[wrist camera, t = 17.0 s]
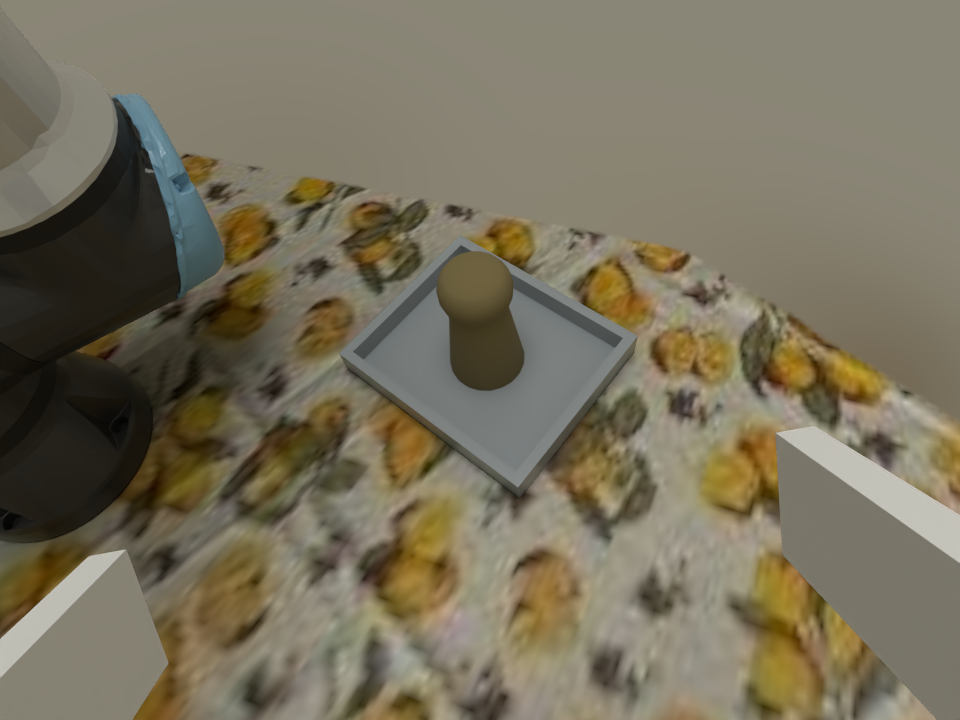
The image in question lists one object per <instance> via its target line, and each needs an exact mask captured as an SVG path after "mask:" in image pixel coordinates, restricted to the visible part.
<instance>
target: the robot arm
mask: <svg viewBox="0 0 960 720" xmlns="http://www.w3.org/2000/svg"><path fill="white" fill-rule="evenodd" d="M223 261H224V248H223V245H222V242H221V240H220V237H219V235H218V232H217V230H216V228H215V226H214V224H213V222H212V220H211V218H210V216H209V213H208V211H207V209H206V207H205V205H204V203H203V201H202V200H201V198H200V196H199V194H198V192H197V190H196V188H195V187H194V185H193V183H192V182H191V181H190V179H189V175H188V173H187V172H186V170H185V168H184V166H183V164H182V161H181V159H180V157H179V155H178V154H177V152H176V150H175V148H174V146H173V144H172V143H171V141H170V139H169V137H168V135H167V134H166V132H165V130H164V128H163V127H162V125H161V123H160V121H159V120H158V118H157V116H156V115H155V113H154V111H153V110H152V109H151V107H150V105H149V104H148V102H147V101H146V100H145V99H144V98H143V97H142V96H140V95H138V94H127V95H121V94H116V95H115V96H114V97H112V98H111V96H110V95H109V94H108V93H107V91H106V90H105V89H104V87H103V86H102V85H101V84H100V83H99V82H97V80H95V79H94V78H93V77H92V76H90V74H88V73H87V72H85V71H83V70H81V69H79V68H77V67H74V66H72V65H69V64H66V63H62V62H58V61H52V60H46V59H42V57H41V56H40V55H39V54H38V53H37V51H36V50H35V49H34V48H33V46H32V45H31V44H30V43H29V41H28V40H27V39H26V38H25V37H24V35H23V34H22V33H21V32H20V30H19V29H18V28H17V27H16V25H15V24H14V23H13V22H12V21H11V19H10V18H9V17H8V16H7V14H6V13H5V12H4V11H3V9H2V8H1V7H0V539H1V540H5V541H9V542H18V543H27V542H37V541H42V540H47V539H50V538H54V537H56V536H59V535H62V534H64V533H67V532H69V531H71V530H73V529H75V528H77V527H79V526H80V525H82V524H84V523H85V522H87V521H89V520H90V519H92V518H93V517H94V516H96V515H97V514H98V513H100V512H101V511H102V510H103V509H104V508H106V507H107V506H108V505H109V504H110V503H111V502H112V501H113V500H114V499H115V498H116V497H117V496H118V495H119V494H120V493H121V492H122V490H123V489H124V488H125V487H126V486H127V484H128V483H129V482H130V480H131V479H132V477H133V476H134V474H135V473H136V471H137V469H138V467H139V466H140V464H141V462H142V460H143V458H144V455H145V453H146V450H147V447H148V444H149V440H150V436H151V430H152V411H151V406H150V402H149V399H148V397H147V395H146V393H145V391H144V389H143V388H142V387H141V385H140V384H139V383H138V382H137V381H136V380H134V379H133V378H132V377H131V376H129V375H128V374H127V373H125V372H124V371H123V370H122V369H120V368H119V367H118V366H116V365H114V364H112V363H111V362H109V361H106V360H104V359H101V358H98V357H95V356H91V355H88V354H84V353H81V352H77V351H76V350H78V349H80V348H82V347H84V346H85V345H87V344H89V343H91V342H93V341H95V340H97V339H99V338H101V337H103V336H105V335H107V334H109V333H111V332H113V331H115V330H117V329H119V328H121V327H123V326H125V325H127V324H129V323H131V322H133V321H135V320H137V319H139V318H141V317H142V316H144V315H146V314H148V313H150V312H152V311H154V310H156V309H158V308H160V307H162V306H164V305H166V304H168V303H170V302H172V301H174V300H176V299H180V298H182V297H183V296H184V295H185V294H186V293H187V291H189V290H190V289H192V288H194V287H195V286H197V285H199V284H200V283H202V282H203V281H205V280H207V279H208V278H210V277H212V276H213V275H215V274H216V273H217V272H218V271H219V270H220V268H221V267H222V264H223ZM776 449H777V467H778V484H779V502H780V519H781V536H782V554H783V556H784V557H785V558H786V559H787V560H788V561H789V562H790V563H791V564H792V565H793V566H794V567H795V568H796V569H797V571H798V572H799V573H800V574H801V575H802V576H803V577H804V578H805V579H806V580H807V581H808V582H809V583H810V584H811V586H812V587H813V588H814V589H815V590H816V591H817V592H818V593H819V594H820V595H821V596H822V597H823V598H824V599H825V600H826V602H827V603H828V604H829V605H830V606H831V607H832V608H833V609H834V610H835V611H836V612H837V613H838V614H839V615H840V617H841V618H842V619H843V620H844V621H845V622H846V623H847V624H848V625H849V626H850V627H851V628H852V629H853V630H854V631H855V633H856V634H857V635H858V636H859V637H860V638H861V639H862V640H863V641H864V642H865V643H866V644H867V645H868V646H869V647H870V649H871V650H872V651H873V652H874V653H875V654H876V655H877V656H878V657H879V658H880V659H881V660H882V661H883V662H884V664H885V665H886V666H887V667H888V668H889V669H890V670H891V671H892V672H893V673H894V674H895V675H896V676H897V677H898V678H899V680H900V681H901V682H902V683H903V684H904V685H905V686H906V687H907V688H908V689H909V690H910V691H911V692H912V693H913V695H914V696H915V697H916V698H917V699H918V700H919V701H920V702H921V703H922V704H923V705H924V706H925V707H926V708H927V709H928V711H929V712H930V713H931V714H932V715H933V716H934V717H935V718H936V719H937V720H960V515H959V514H957V513H956V512H954V511H952V510H951V509H949V508H947V507H946V506H944V505H942V504H941V503H939V502H938V501H936V500H934V499H933V498H931V497H929V496H928V495H926V494H924V493H923V492H921V491H920V490H918V489H916V488H915V487H913V486H911V485H910V484H908V483H906V482H905V481H903V480H902V479H900V478H898V477H897V476H895V475H893V474H892V473H890V472H888V471H887V470H885V469H884V468H882V467H880V466H879V465H877V464H875V463H874V462H872V461H870V460H869V459H867V458H865V457H864V456H862V455H861V454H859V453H857V452H856V451H854V450H852V449H851V448H849V447H847V446H846V445H844V444H843V443H841V442H839V441H838V440H836V439H834V438H833V437H831V436H829V435H828V434H826V433H825V432H823V431H821V430H820V429H818V428H816V427H815V426H811V427H806V428H800V429H795V430H789V431H783V432H778V433H776ZM167 665H168V660H167V658H166V655H165V652H164V650H163V647H162V644H161V641H160V639H159V636H158V633H157V631H156V628H155V625H154V623H153V620H152V617H151V614H150V612H149V609H148V606H147V604H146V601H145V598H144V596H143V593H142V590H141V587H140V585H139V582H138V579H137V577H136V574H135V571H134V569H133V566H132V563H131V560H130V558H129V555H128V552H127V550H120V551H114V552H109V553H103V554H98V555H92V556H89V557H87V558H86V559H85V560H84V561H83V562H82V563H81V564H80V565H79V566H78V567H77V568H76V569H75V570H74V571H72V572H71V573H70V574H69V575H68V576H67V577H66V578H65V579H64V580H63V581H62V582H61V583H60V584H59V585H58V586H56V587H55V588H54V589H53V590H52V591H51V592H50V593H49V594H48V595H47V596H46V597H45V598H44V599H43V600H41V601H40V602H39V603H38V604H37V605H36V606H35V607H34V608H33V609H32V610H31V611H30V612H29V613H28V614H26V615H25V616H24V617H23V618H22V619H21V620H20V621H19V622H18V623H17V624H16V625H15V626H14V627H13V628H11V629H10V630H9V631H8V632H7V633H6V634H5V635H4V636H3V637H2V638H1V639H0V720H132V719H133V718H134V716H135V715H136V713H137V712H138V710H139V708H140V707H141V705H142V704H143V702H144V701H145V699H146V698H147V696H148V694H149V693H150V691H151V690H152V688H153V687H154V685H155V684H156V682H157V680H158V679H159V677H160V676H161V674H162V673H163V671H164V670H165V668H166V666H167Z"/></svg>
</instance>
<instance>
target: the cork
mask: <svg viewBox="0 0 960 720" xmlns="http://www.w3.org/2000/svg"><path fill="white" fill-rule="evenodd" d="M436 292H437V296H438V300H439V304H440V306H441V307H442V309H443V310H444V312H445V313H446V314H447V316H448V317H449V337H450V363H451V367H452V371H453V373H454V374H455V376H456V377H457V379H458V380H459V381H460V382H461V383H463V384H464V385H466V386H467V387H469V388H472V389H476V390H479V391H492V390H495V389H499V388H503V387H504V386H506V385H508V384H509V383H511V382H512V381H513V380H514V379H515V378H516V377H517V376H518V375H519V374H520V372H521V369H522V367H523V365H524V354H525V353H524V350H523V347H522V344H521V341H520V338H519V335H518V332H517V329H516V326H515V323H514V320H513V317H512V314H511V311H510V308H509V305H510V303H511V301H512V298H513V280H512V277H511V274H510V271H509V269H508V268H507V266H506V265H505V264H504V263H503V262H502V260H500V259H498V258H497V257H495V256H493V255H492V254H490V253H486V252H482V251H470V252H466V253H462V254H459V255H457V256H456V257H454V258H452V259H451V260H450V261H449V262H448V263H447V264H446V265H445V266H444V267H443V269H442V270H441V272H440V274H439V276H438V281H437V288H436Z"/></svg>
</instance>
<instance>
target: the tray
mask: <svg viewBox="0 0 960 720" xmlns="http://www.w3.org/2000/svg"><path fill="white" fill-rule="evenodd" d="M470 251H482V252H486V253H490V254H492V253H491V252H489V251H487V250H485V249H483V248H482V247H480V246H478V245H476V244H475V243H473V242H471V241H469V240H468V239H466V238H464V237H462V236H461V235H460V236H459V237H458V238H457V239H456V240H455V241H454V242H453V243H451V244H450V245H449V246H448V247H447V248H446V249H445V250H444V251H443V252H442V253H441V254H440V255H439V256H438V257H437V258H436V259H435V260H434V261H433V262H432V263H431V264H430V265H429V266H428V267H427V268H426V269H425V270H424V271H423V272H422V273H421V274H420V275H419V276H418V277H417V278H416V279H415V280H414V281H413V282H412V283H411V284H410V285H409V286H408V287H407V288H406V289H405V290H403V291H402V292H401V293H400V294H399V295H398V296H397V297H396V298H395V299H394V300H393V301H392V302H391V303H390V304H389V305H388V306H387V307H386V308H385V309H384V310H383V311H382V312H381V313H380V314H379V315H378V316H377V317H376V318H375V319H374V320H373V321H372V322H371V323H370V324H369V325H368V326H367V327H366V328H365V329H364V330H363V331H362V332H361V333H360V334H359V335H358V336H357V337H355V338H354V339H353V340H352V341H351V342H350V343H349V344H348V345H347V346H346V347H345V348H344V349H343V350H342V351H341V352H340V353H339V354H340V356H341V358H342V359H343V361H344V363H345V364H346V366H347V368H348V369H349V370H350V371H352V372H353V373H354V374H356V375H357V376H358V377H360V378H361V379H362V380H363V381H365V382H366V383H367V384H369V385H370V386H371V387H373V388H374V389H375V390H377V391H378V392H379V393H381V394H382V395H383V396H385V397H386V398H387V399H389V400H390V401H391V402H393V403H394V404H395V405H397V406H398V407H399V408H401V409H402V410H403V411H404V412H406V413H407V414H408V415H410V416H411V417H412V418H414V419H415V420H416V421H418V422H419V423H420V424H422V425H423V426H424V427H426V428H427V429H428V430H430V431H431V432H432V433H434V434H435V435H436V436H438V437H439V438H440V439H442V440H443V441H444V442H446V443H447V444H448V445H449V446H451V447H452V448H453V449H455V450H456V451H457V452H459V453H460V454H461V455H463V456H464V457H465V458H467V459H468V460H469V461H471V462H472V463H473V464H475V465H476V466H477V467H479V468H480V469H481V470H483V471H484V472H485V473H487V474H488V475H489V476H490V477H492V478H493V479H494V480H496V481H497V482H498V483H500V484H501V485H502V486H504V487H505V488H506V489H508V490H509V491H510V492H512V493H513V494H514V495H516V496H517V497H518V498H520V497H521V496H522V495H523V494H524V492H525V491H526V490H527V488H528V487H529V486H530V485H531V483H532V482H533V481H534V479H535V478H536V477H537V476H538V474H539V473H540V472H541V471H542V469H543V468H544V467H545V465H546V464H547V463H548V462H549V460H550V459H551V458H552V457H553V455H554V454H555V453H556V451H557V450H558V449H559V448H560V446H561V445H562V444H563V443H564V441H565V440H566V439H567V437H568V436H569V435H570V434H571V432H572V431H573V430H574V428H575V427H576V426H577V425H578V423H579V422H580V421H581V420H582V418H583V417H584V416H585V414H586V413H587V412H588V411H589V409H590V408H591V407H592V406H593V404H594V403H595V402H596V400H597V399H598V398H599V397H600V395H601V394H602V393H603V392H604V390H605V389H606V388H607V386H608V385H609V384H610V383H611V381H612V380H613V379H614V378H615V376H616V375H617V374H618V372H619V371H620V370H621V369H622V367H623V366H624V365H625V363H626V362H627V361H628V360H629V358H630V357H631V356H632V355H633V353H634V350H635V346H636V342H637V338H638V336H637V335H635V334H633V333H632V332H630V331H628V330H626V329H624V328H623V327H621V326H619V325H617V324H616V323H614V322H612V321H610V320H609V319H607V318H605V317H603V316H602V315H600V314H598V313H596V312H595V311H593V310H591V309H589V308H587V307H586V306H584V305H582V304H580V303H579V302H577V301H575V300H573V299H572V298H570V297H568V296H566V295H565V294H563V293H561V292H559V291H557V290H556V289H554V288H552V287H550V286H549V285H547V284H545V283H543V282H542V281H540V280H538V279H536V278H535V277H533V276H531V275H529V274H528V273H526V272H524V271H522V270H520V269H519V268H517V267H515V266H513V265H512V264H510V263H508V262H506V261H505V260H503V259H501V258H499V257H498V256H496V255H494V254H492V255H493V256H495V257H497V258H498V259H500V260H502V262H503V263H504V264H505V265H506V266H507V268H508V269H509V271H510V274H511V277H512V280H513V298H512V301H511V303H510V305H509V308H510V311H511V314H512V317H513V320H514V323H515V326H516V329H517V332H518V335H519V338H520V341H521V344H522V347H523V350H524V353H525V354H524V365H523V367H522V369H521V372H520V374H519V375H518V376H517V377H516V378H515V379H514V380H513V381H512V382H511V383H509V384H508V385H506V386H504V387H503V388H499V389H495V390H492V391H479V390H476V389H472V388H469V387H467V386H466V385H464V384H463V383H461V382H460V381H459V380H458V379H457V377H456V376H455V374H454V373H453V371H452V367H451V363H450V337H449V317H448V316H447V314H446V313H445V312H444V310H443V309H442V307H441V306H440V304H439V300H438V296H437V292H436V288H437V281H438V276H439V274H440V272H441V270H442V269H443V267H444V266H445V265H446V264H447V263H448V262H449V261H450V260H451V259H452V258H454V257H456V256H457V255H459V254H462V253H466V252H470Z"/></svg>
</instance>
